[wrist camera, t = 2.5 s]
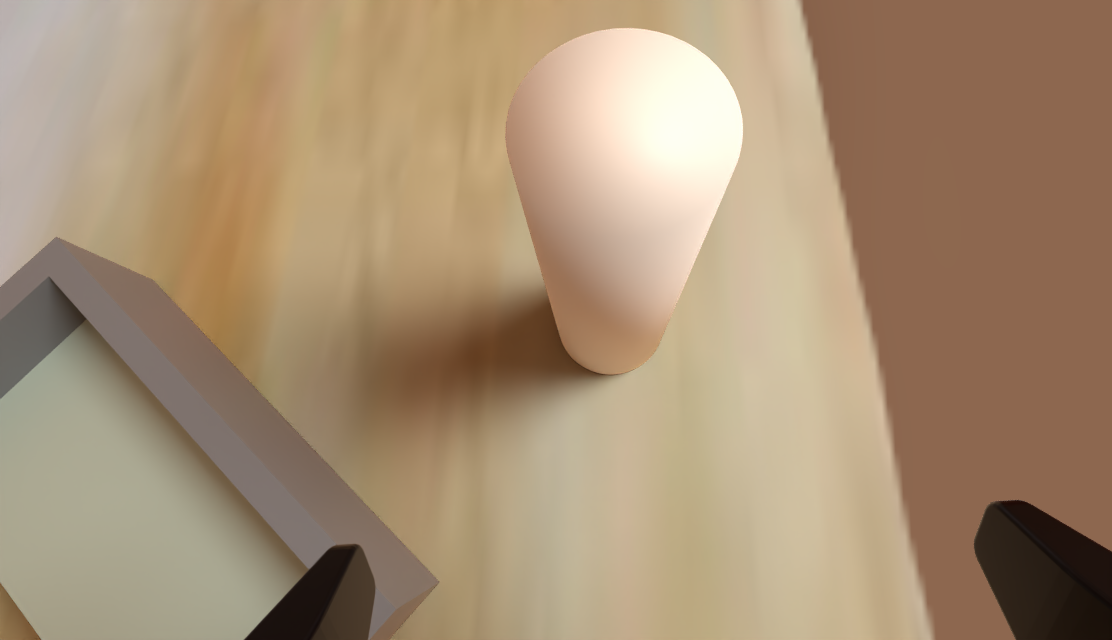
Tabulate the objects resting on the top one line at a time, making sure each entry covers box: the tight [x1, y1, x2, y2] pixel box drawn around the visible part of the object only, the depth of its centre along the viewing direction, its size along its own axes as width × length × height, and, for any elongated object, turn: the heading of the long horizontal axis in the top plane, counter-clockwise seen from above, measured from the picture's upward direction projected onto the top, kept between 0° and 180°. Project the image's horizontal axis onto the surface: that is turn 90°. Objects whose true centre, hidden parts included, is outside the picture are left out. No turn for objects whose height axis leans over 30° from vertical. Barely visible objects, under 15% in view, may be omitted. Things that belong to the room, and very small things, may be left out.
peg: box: [505, 28, 743, 375], centre depth 16 cm, size 4×4×13 cm
